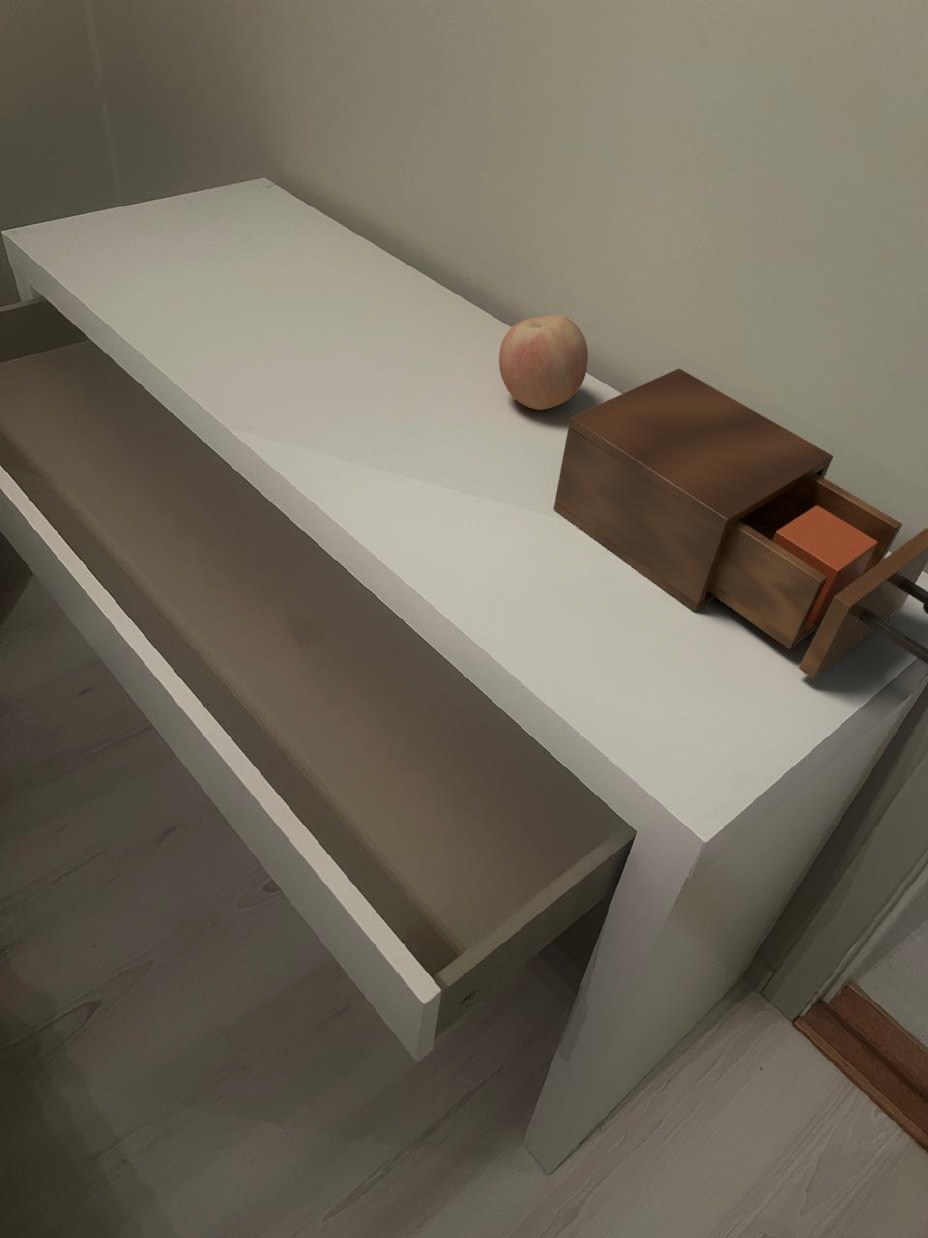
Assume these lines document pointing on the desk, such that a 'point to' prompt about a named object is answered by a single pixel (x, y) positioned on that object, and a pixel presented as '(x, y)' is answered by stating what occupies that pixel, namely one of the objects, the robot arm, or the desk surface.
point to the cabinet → (675, 477)
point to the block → (827, 551)
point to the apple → (543, 361)
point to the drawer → (818, 576)
